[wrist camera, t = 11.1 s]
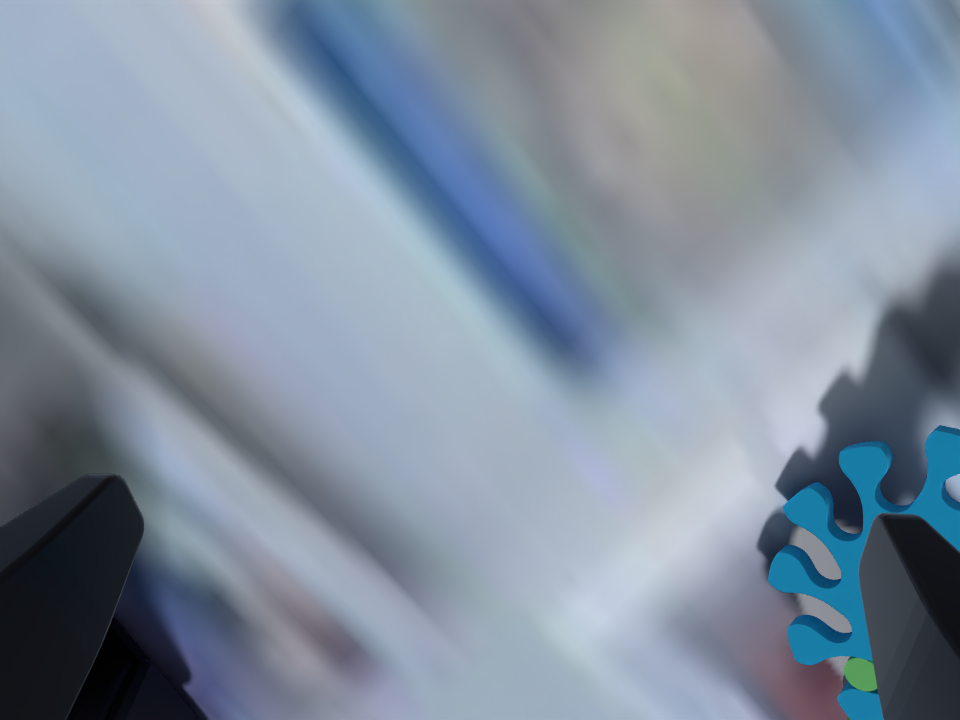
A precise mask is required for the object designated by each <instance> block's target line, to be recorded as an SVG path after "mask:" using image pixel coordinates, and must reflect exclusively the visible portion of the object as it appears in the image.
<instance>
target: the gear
mask: <svg viewBox="0 0 960 720" xmlns="http://www.w3.org/2000/svg"><path fill="white" fill-rule="evenodd" d="M925 453H926V457H927V463H928V472H927V479H926V482H925V485H924V488H923V490H922V491H921V493H920V494H919V496H918V497H917V498H916V500H915V501H914V502H912V503H911V504H908V505H904V506H900V505H895V504H892V503H890V502H889V501H887V500H886V499H885V498H884V497H883V495H882V493H881V490H880V483H881V480H882V478H883V477H884V476H885V474H886V473H887V472H888V470H889V469H890V467H891V465H892V462H893V454H892V451H891V449H890V447H889V445H888V444H887V443H886V442H880V441H868V442H862V443H857V444H854V445H850V446H847V447H846V448H844V449H843V450H842V451H840V455H839V464H840V467H841V469H842V471H843V473H844V474H845V475H846V476H847V477H848V478H849V479H850V480H851V482H852V483H853V485H854V486H855V488H856V490H857V492H858V494H859V496H860V499H861V503H862V507H863V531H862V532H861V533H858V534H851V533H847V532H844V531H843V530H841V529H840V528H839V527H838V526H837V524H836V523H835V520H834V516H833V506H834V503H833V498H832V495H831V493H830V491H829V490H828V489H827V488H826V487H825V486H824V485H822V484H821V483H819V482H815V483H812V484H810V485H808V486H806V487H805V488H803V489H802V490H801V491H799V492H798V493H797V494H796V495H795V496H793V497H792V498H791V499H790V500H789V501H788V502H787V503H786V504H785V505H784V506H783V510H784V513H785V514H786V516H787V517H788V519H789V520H790V521H791V522H793V523H794V524H796V525H798V526H800V527H802V528H805V529H806V530H808V531H809V532H811V533H813V534H814V535H815V536H816V537H817V538H819V539H820V540H821V541H822V542H823V543H824V544H825V546H826V547H827V548H828V549H829V551H830V552H831V554H832V555H833V557H834V558H835V560H836V562H837V564H838V566H839V568H840V569H841V574H842V578H841V579H838V580H831V579H827V578H825V577H824V576H822V575H821V574H820V573H818V571H817V569H816V568H815V566H814V564H813V562H812V561H811V559H810V557H809V556H808V555H807V553H806V552H805V551H803V550H802V549H801V548H798V547H797V546H793V545H786V546H785V547H784V548H782V549H781V550H780V551H779V552H778V553H777V555H776V556H775V557H774V559H773V561H772V564H771V567H770V571H769V577H768V582H769V583H770V584H771V585H772V586H773V587H774V588H776V589H777V590H779V591H782V592H786V593H801V594H806V595H809V596H813V597H815V598H817V599H819V600H822V601H824V602H825V603H827V604H829V605H830V606H831V607H833V608H834V609H836V610H837V611H838V612H840V613H841V614H842V615H844V616H845V617H846V618H847V619H848V621H849V622H850V624H851V627H852V632H850V633H840V632H838V631H835V630H834V629H832V628H831V627H829V626H828V625H827V624H826V623H824V622H823V621H821V620H820V619H818V618H817V617H814V616H811V615H801V616H798V617H796V618H795V619H794V621H793V622H792V623H791V624H790V626H789V627H788V638H789V643H790V647H791V650H792V653H793V655H794V658H795V660H796V661H797V662H799V663H801V664H805V665H813V664H817V663H819V662H820V661H822V660H824V659H827V658H830V657H836V656H850V658H849V659H848V661H847V663H846V664H845V667H844V673H845V674H844V676H843V686H844V687H843V689H842V691H841V693H840V694H839V696H838V698H837V699H838V701H839V704H840V706H841V707H842V709H843V710H844V712H845V713H846V714H847V715H848V718H847V720H883V715H882V710H881V705H880V700H879V695H878V689H877V683H876V677H875V671H874V666H873V660H872V654H871V648H870V642H869V636H868V631H867V625H866V619H865V613H864V607H863V601H862V595H861V590H860V583H859V563H860V559H861V556H862V553H863V550H864V547H865V544H866V541H867V538H868V534H869V531H870V528H871V525H872V522H873V520H874V518H875V517H876V516H877V515H878V514H880V513H898V514H914V515H918V516H920V517H921V518H923V519H924V520H926V521H927V522H928V523H929V524H930V525H931V526H932V527H933V528H934V529H935V530H937V531H938V532H939V533H940V534H941V535H942V536H943V537H944V538H945V539H946V540H947V541H948V542H949V543H951V544H952V545H953V546H954V547H955V548H956V549H957V550H958V551H959V552H960V502H957V501H955V500H954V499H952V498H951V497H950V496H949V494H948V493H947V491H946V488H945V481H946V479H948V478H950V477H952V476H954V475H957V474H960V430H959V429H955V428H951V427H946V426H941V425H940V426H938V427H937V428H936V429H935V430H934V431H933V432H932V433H931V434H930V435H929V437H928V438H927V440H926V443H925Z"/></svg>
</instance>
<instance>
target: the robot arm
mask: <svg viewBox="0 0 960 720" xmlns="http://www.w3.org/2000/svg"><path fill="white" fill-rule="evenodd" d="M143 532H144V520H143V516H142V514H141V512H140V510H139V508H138V506H137V504H136V502H135V500H134V498H133V496H132V494H131V492H130V490H129V488H128V486H127V484H126V482H125V480H124V479H123V478H122V477H120V476H119V475H116V474H100V473H91V474H87V475H84V476H82V477H80V478H79V479H77V480H76V481H74V482H72V483H71V484H69V485H67V486H66V487H64V488H63V489H61V490H59V491H58V492H56V493H55V494H53V495H51V496H50V497H48V498H47V499H45V500H43V501H42V502H40V503H39V504H37V505H35V506H34V507H32V508H31V509H29V510H27V511H26V512H24V513H23V514H21V515H19V516H18V517H16V518H14V519H13V520H11V521H10V522H8V523H6V524H5V525H3V526H2V527H0V720H198V719H197V718H196V716H195V715H194V713H193V711H192V710H191V709H190V708H189V706H188V705H187V704H186V703H185V702H184V700H183V699H182V698H181V697H180V695H179V694H178V693H177V692H176V690H175V689H174V688H173V687H172V686H171V684H170V683H169V682H168V681H167V679H166V678H165V677H164V676H163V674H162V673H161V672H160V671H159V670H158V668H157V667H156V666H155V665H154V664H153V663H152V662H151V661H150V660H149V659H148V657H147V656H146V655H145V654H144V652H143V651H142V650H141V649H140V648H139V646H138V645H137V644H136V643H135V641H134V640H133V639H132V638H131V637H130V635H129V634H128V633H127V632H126V630H125V629H124V628H123V627H122V625H121V624H120V623H119V622H118V621H117V619H116V618H115V617H113V615H114V613H115V610H116V607H117V604H118V602H119V599H120V596H121V594H122V591H123V588H124V586H125V583H126V580H127V577H128V575H129V572H130V569H131V567H132V564H133V561H134V559H135V556H136V553H137V551H138V548H139V545H140V542H141V540H142V536H143ZM859 583H860V590H861V595H862V601H863V607H864V613H865V619H866V625H867V631H868V636H869V642H870V648H871V654H872V660H873V666H874V671H875V677H876V683H877V689H878V695H879V700H880V705H881V710H882V715H883V719H884V720H960V552H959V551H958V550H957V549H956V548H955V547H954V546H953V545H952V544H951V543H949V542H948V541H947V540H946V539H945V538H944V537H943V536H942V535H941V534H940V533H939V532H938V531H937V530H935V529H934V528H933V527H932V526H931V525H930V524H929V523H928V522H927V521H926V520H924V519H923V518H921V517H920V516H918V515H914V514H898V513H880V514H878V515H877V516H876V517H875V518H874V520H873V522H872V525H871V528H870V531H869V534H868V538H867V541H866V544H865V547H864V550H863V553H862V556H861V559H860V563H859Z"/></svg>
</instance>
